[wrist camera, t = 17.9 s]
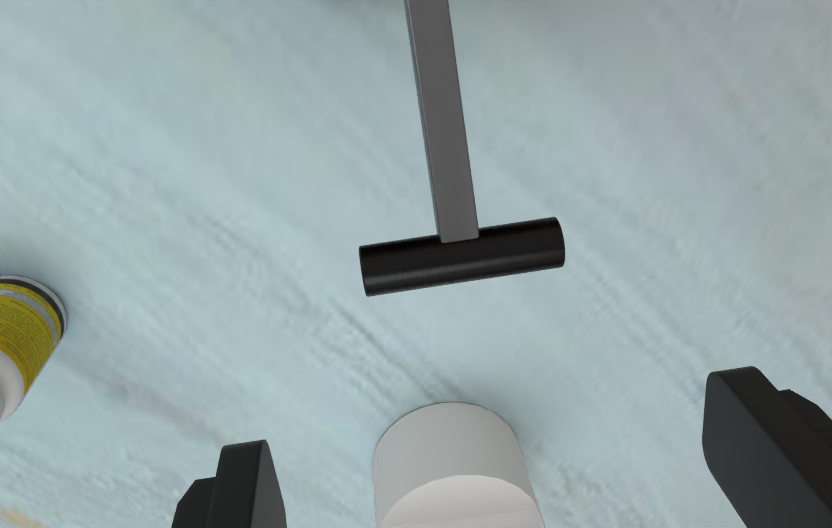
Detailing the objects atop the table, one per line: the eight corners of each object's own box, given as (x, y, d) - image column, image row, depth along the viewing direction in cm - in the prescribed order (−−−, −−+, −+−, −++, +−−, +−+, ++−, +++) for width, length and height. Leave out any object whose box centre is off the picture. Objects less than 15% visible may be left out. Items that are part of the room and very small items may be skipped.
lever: (551, 261, 22) (572, 272, 20) (367, 289, 22) (365, 304, 20) (491, -246, 20) (505, -301, 18) (287, -219, 20) (274, -270, 18)
